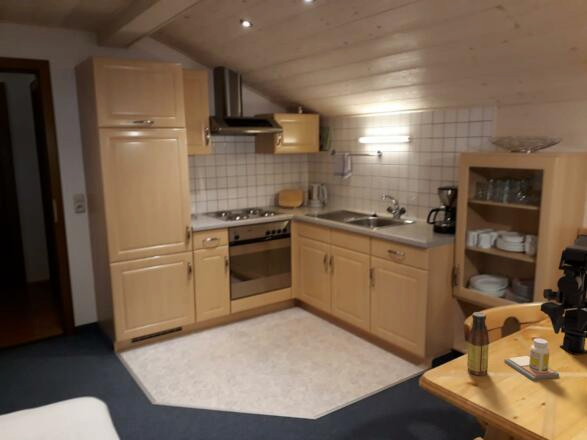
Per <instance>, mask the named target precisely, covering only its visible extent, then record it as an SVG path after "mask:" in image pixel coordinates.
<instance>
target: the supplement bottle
mask: <svg viewBox="0 0 587 440" xmlns="http://www.w3.org/2000/svg"><path fill="white" fill-rule="evenodd" d="M548 343H549V342H548V341H547V340H546V339H544V338H534V339H533V345H531V346H530V350H529V356H530V363H529V367H530V369H531V370H533V371H535V372H539V373H545V372H547V371H548V367H549V362H550V361H549V360H550V349H549V347H548V346H549V345H548Z"/></svg>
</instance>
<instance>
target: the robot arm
mask: <svg viewBox="0 0 587 440" xmlns="http://www.w3.org/2000/svg"><path fill="white" fill-rule="evenodd" d="M558 270H560V271H563V273H562V275H561V277H560V278H558V280H557V288H558V289H557V290H553V289H552V288H545V289H543V292H542V293H543V294H542V296H543V298H544V299H545V300H547V301H548V302H543V303H541V304H540V311H541V312H542V313H544V314H545V315H547V316H548V318H549V319H550V322H551V325H552V328H553V332H554V333H555V334H556V335H559V333H563V334H564V336H563V339H562V340H563V341H562V344H561V345H559V348H560V349H563V350H564V351H567V352H568V353H570V354H572V355H579V354H586V353H587V349H585V345H586V339H587V234H586V233H585V234H584V233H580V234H578V235H577V238H576V239H575V240H573V245H567V246H566V247H565V249H563V250H562V252H561V256H560V261H559V265H558ZM553 301H555V302H553Z"/></svg>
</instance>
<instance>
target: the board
mask: <svg viewBox="0 0 587 440" xmlns="http://www.w3.org/2000/svg"><path fill="white" fill-rule="evenodd" d="M503 362H504V363H505V364H506V365H508V366H510V367H512V368H513V369H514V370H516V371H518V372H519V373H520V374H522V375H523V376H525V377H526V378H528V379H529V380H531V381H533V382H535V381H540V380H546V379H551V378H553V379H555V378H558V377H560V373H559V372H557V371H555V370H554V369H553V368H551V367H549V366H548V371H547V372H545V373H539V372H535V371H533V370H531V369H530V367H529V363H530V355H524V356H517V357H510V358H505V359H504V361H503Z"/></svg>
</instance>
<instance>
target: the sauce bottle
mask: <svg viewBox="0 0 587 440" xmlns="http://www.w3.org/2000/svg"><path fill="white" fill-rule="evenodd" d="M471 318H472V326H471V328H470V330H469V332H468V337H467V359H466V360H467V361H466V362H467V364H466V365H467V371H468V372H469V373H470V374H471V375H475V376H479V377H480V376H486V375H487V374H488V368H489V332H488V331H487V328H486V319H487V315H486V313H484V312H481V311H479V312H478V311H474V312H473V313H472V317H471Z"/></svg>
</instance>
